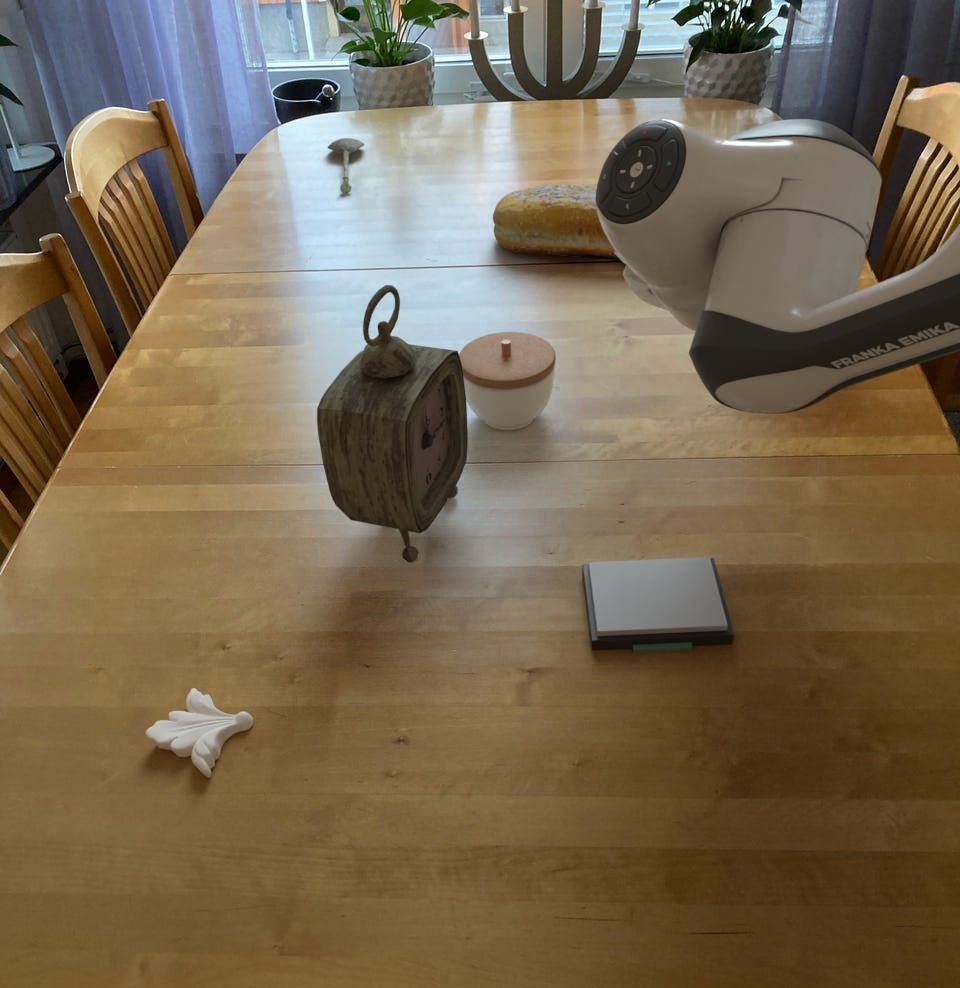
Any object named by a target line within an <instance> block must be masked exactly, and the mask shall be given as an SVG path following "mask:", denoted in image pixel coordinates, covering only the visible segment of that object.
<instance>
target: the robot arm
mask: <svg viewBox="0 0 960 988" xmlns="http://www.w3.org/2000/svg"><path fill="white" fill-rule="evenodd" d="M599 173H600V174H599V176H598V180H597V183H596V184H597V189H596V197H595V203H596V210H597V214H598V218H599V221H600V224H601V226H602V229H603V231H604V233H605V235H606V236H607V238H608V240H609V242H610V243H611V245H612V246H613V248H614V253H615V254H616V256H617V257H618V258H619V259H620V260H619V261H621V262H622V263H623V264H625V267H624V269H623V272H622V276H623V279H624V280H625V282H626V284H627V285H628V287H629V288H630V289H631V291H632V292H633V293H634V295H635V296H636V297H637V298H639V299H640V300H641V301H643V302H644V303H646V304H648V305H650V306H652V307H656V308H659V309H661V310H665V311H668V312H669V313H670V314H671V315H672V316H673V318H675V320H676V321H677V322H678V323H679V324H680V325H682V326H683V327H685V328H687V329H689V330H691V331H695V332H694V335H693V338H692V341H691V344H690V347H689V350H688V355H689V358H690V360H691V362H692V365H693V367H694V369H695V372H696V373H697V375H698V377H699V379H700V381H701V382H702V384H703V385H704V387H705V388H706V391H708V393H709V394H710V396H711V397H712V398H713V399H714V400H715V401H716V402H717V403H719V404H721V405H722V406H724V407H726V408H730V409H733V410H736V411H740V412H745V413H752V414H759V415H760V414H761V415H780V414H782V415H783V414H789V413H794V412H799V411H801V410H804V409H807V408H809V407H812V406H814V405H816V404H817V403H820V402H821V401H823V400H825V399H827V398H829V397H831V396H832V395H834V394H837V393H839V392H840V391H842V390H844V389H847V388H850V387H852V386H855V385H857V384H860V383H863V382H866V381H870V380H873V379H875V378H879V377H882V376H885V375H889V374H892V373H894V372H898V371H901V370H905V369H908V368H910V367H913V366H917V365H920V364H924V363H927V362H929V361H932V360H936V359H939V358H942V357H945V356H949V355H952V354H955V353H958V352H960V223H958V226H957V227H956V228H955V229H954V231H953V232H952V233H951V234H950V235H949V237H948V238H947V239H946V241H944V243H942V245H941V246H939V248H938V249H937V250H936V251H935V252H934V253H932V255H930V256H929V257H928V258H926V260H924V261H923V262H920V263H919V264H918V265H917V266H915V267H913V268H911V269H909V270H906V271H905V272H902V273H900V274H897V275H895V276H892V277H890V278H887V279H885V280H882V281H880V282H878V283H876V284H873V285H871V286H868V287H864V288H863V289H860V290H858V289H859V288H858V287H859V283H860V279H861V274H862V271H863V265H864V261H865V258H866V253H867V252H868V251H867V250H868V248H869V244H870V239H871V235H872V231H873V226H874V223H875V216H876V213H877V208H878V203H879V198H880V192H881V188H882V185H883V175H882V172H881V169H880V168H879V165H878V163H877V161H876V160H875V159H874V157H873V156H872V155H871V153H870V152H869V151H868V150H867V149H866V148H865V147H864V146H863V145H862V143H860V142H858V141H857V140H856V139H855V138H854V137H852V136H851V135H849V133H846V132H845V131H844V130H842V129H841V128H839V127H838V126H835V125H834V124H832V123H829V122H827V121H823V120H819V119H809V118H791V119H790V118H789V119H780V120H775V121H770V122H766V123H762V124H759V125H756V126H753V127H750V128H747V129H745V130H742V131H739V132H737V133H735V134H732V135H730V136H728V137H719V136H714V135H710V134H707V133H704V132H702V131H700V130H698V129H695V128H694V127H692V126H689V125H687V124H686V123H684V122H681V121H678V120H675V119H669V118H660V119H651V120H648V121H645V122H643V123H641V124H639V125H637V126H636V127H634V128H632V129H631V130H630V131H628V132H627V133H626V134H625V135H624V136H623V137H622V138H621V139H619V141H618V142H617V143H616V144H615V146H614V147H613V148H612V150H611V151H610V152H609V154H608V155H607V157H606V159H605V161H604V163H603V165H602V168H601V170H600V172H599Z"/></svg>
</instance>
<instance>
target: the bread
mask: <svg viewBox="0 0 960 988" xmlns="http://www.w3.org/2000/svg"><path fill="white" fill-rule="evenodd" d="M597 184H598V183H595V184H594V183H588V184H587V183H586V184H585V183H569V184H549V183H546V184H545V185H538V186H535V187H533V188H531V187H529V188H523V189H518V190H513V191H511V192H509V193H507V194H505V195H504V196H503V197H502V198H500V200H499V201H498V203H497V204H496V205H495V208H494V210H493V214H492V221H493V224H494V226H493V235H494V237H495V240H496V242H497V243H498V245H500V246H501V247H502V248H504V249H506V250H509V251H510V252H515V253H521V254H526V255H527V254H528V255H553V256H563V257H574V258H581V259H587V260H588V259H589V260H606V261H607V260H608V261H609V260H610V261H621V260H620V259H619V258H618V257H617V256H616V254H615V253H614V248H613V246H612V245H611V243H610V242H609V240H608V238H607V236H606V235H605V233H604V231H603V229H602V226H601V224H600V221H599V218H598V214H597V210H596V203H595V197H596V189H597Z"/></svg>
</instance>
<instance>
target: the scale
mask: <svg viewBox="0 0 960 988" xmlns="http://www.w3.org/2000/svg"><path fill="white" fill-rule="evenodd" d="M581 570H582V572H581V574H582V575H581V582H582V584H583V591H584V601H585V609H586V616H587V617H586V618H587V625H588V632H589V633H588V634H589V641H590V649H591V651H615V650H616V651H617V650H618V651H619V650H632V653H633V654H643V653H666V652H686V651H687V652H690V651H693V647H703V646H705V647H706V646H726V645H729V646H730V645H733V643H734V637H735V634H734V629H733V625H732V623H731V619H730V618H731V617H730V614H729V611H728V607H727V603H726V600H725V595H724V592H723V588H722V585H721V579H720V577H719V572H718V570H717V565H716V562H715V559H714V557H710V556H697V557H696V556H695V557H677V558H674V557H673V558H655V559H654V558H653V559H634V560H633V559H632V560H612V561H595V562H594V561H591V562H588V563H582V566H581Z"/></svg>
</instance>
